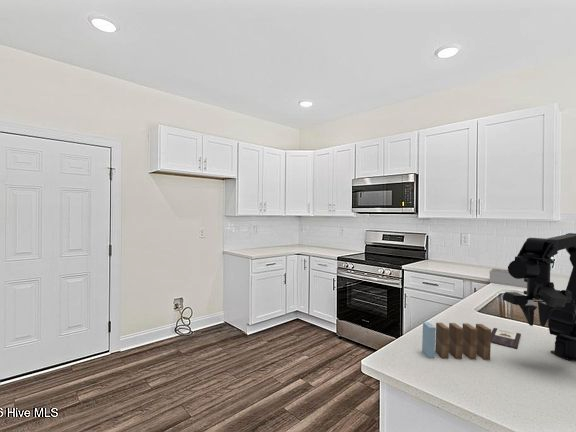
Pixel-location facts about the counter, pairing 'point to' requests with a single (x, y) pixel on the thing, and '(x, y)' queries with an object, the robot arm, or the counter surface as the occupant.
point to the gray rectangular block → (505, 278)
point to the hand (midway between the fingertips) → (536, 325)
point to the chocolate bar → (505, 338)
